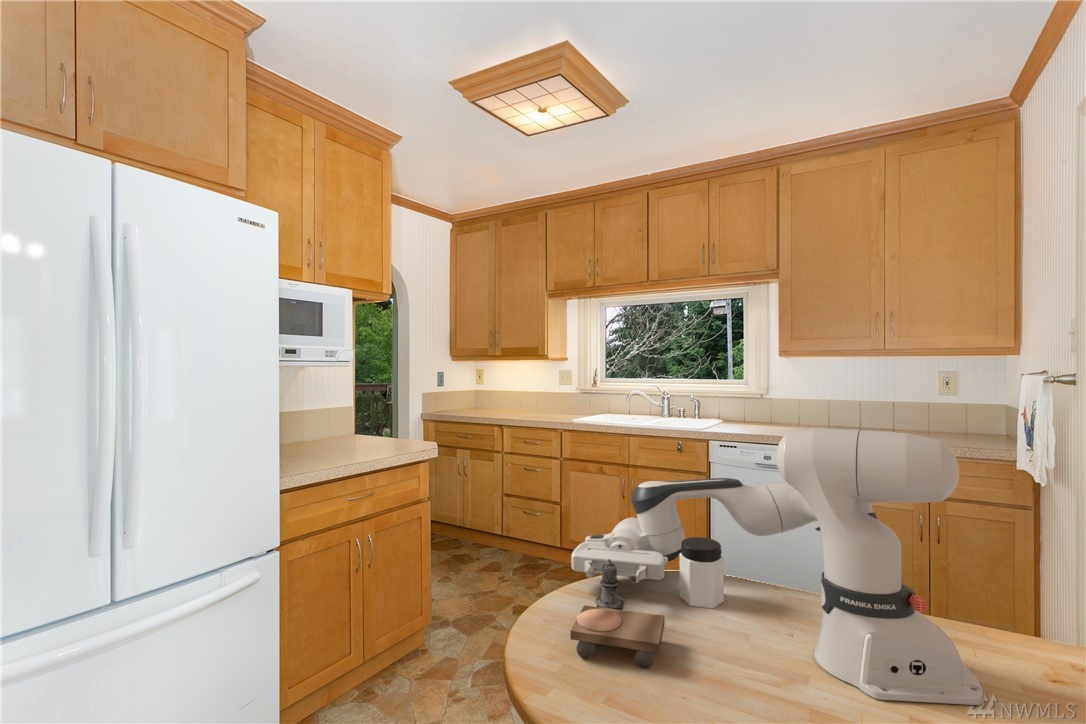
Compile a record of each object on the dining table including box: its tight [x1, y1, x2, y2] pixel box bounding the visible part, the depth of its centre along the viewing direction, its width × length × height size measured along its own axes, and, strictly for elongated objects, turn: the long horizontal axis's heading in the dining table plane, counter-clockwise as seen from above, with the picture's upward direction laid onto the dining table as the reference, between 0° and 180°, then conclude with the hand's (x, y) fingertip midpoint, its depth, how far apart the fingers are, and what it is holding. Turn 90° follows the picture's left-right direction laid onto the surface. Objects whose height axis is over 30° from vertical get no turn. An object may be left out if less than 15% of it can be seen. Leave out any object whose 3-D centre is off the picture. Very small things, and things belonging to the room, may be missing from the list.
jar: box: [678, 536, 725, 609], centre depth 113 cm, size 9×8×12 cm
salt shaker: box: [594, 559, 626, 610], centre depth 105 cm, size 6×6×12 cm
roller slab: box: [570, 604, 665, 670], centre depth 95 cm, size 15×10×5 cm, turn 72°
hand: (611, 576), depth 110 cm, fingers open, 8 cm apart
